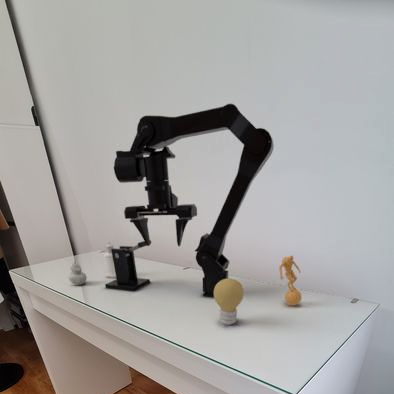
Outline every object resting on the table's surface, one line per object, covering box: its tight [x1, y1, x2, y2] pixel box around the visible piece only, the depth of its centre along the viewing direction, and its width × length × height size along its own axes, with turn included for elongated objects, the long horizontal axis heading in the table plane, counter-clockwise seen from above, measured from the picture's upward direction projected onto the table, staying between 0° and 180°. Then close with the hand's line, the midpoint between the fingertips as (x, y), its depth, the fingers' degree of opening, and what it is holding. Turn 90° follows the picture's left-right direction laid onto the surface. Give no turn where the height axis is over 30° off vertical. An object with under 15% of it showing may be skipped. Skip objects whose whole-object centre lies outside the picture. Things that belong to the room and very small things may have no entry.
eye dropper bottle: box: [102, 240, 117, 279], centre depth 99 cm, size 4×6×12 cm
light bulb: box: [213, 277, 245, 326], centre depth 62 cm, size 6×6×10 cm
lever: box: [124, 239, 152, 257], centre depth 85 cm, size 11×5×2 cm, turn 66°
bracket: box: [104, 245, 151, 292], centre depth 90 cm, size 11×9×12 cm
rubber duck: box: [68, 260, 87, 286], centre depth 94 cm, size 5×7×8 cm
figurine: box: [278, 254, 302, 307], centre depth 70 cm, size 8×6×12 cm
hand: (163, 245), depth 80 cm, fingers open, 9 cm apart
